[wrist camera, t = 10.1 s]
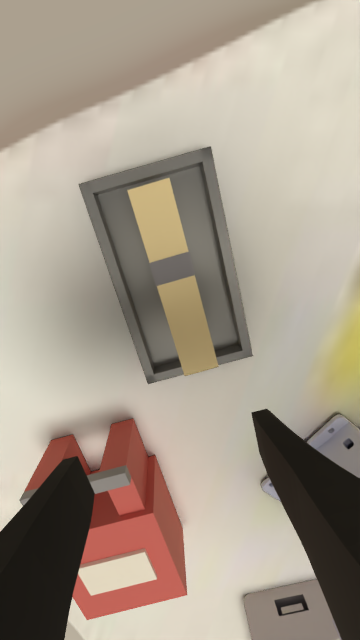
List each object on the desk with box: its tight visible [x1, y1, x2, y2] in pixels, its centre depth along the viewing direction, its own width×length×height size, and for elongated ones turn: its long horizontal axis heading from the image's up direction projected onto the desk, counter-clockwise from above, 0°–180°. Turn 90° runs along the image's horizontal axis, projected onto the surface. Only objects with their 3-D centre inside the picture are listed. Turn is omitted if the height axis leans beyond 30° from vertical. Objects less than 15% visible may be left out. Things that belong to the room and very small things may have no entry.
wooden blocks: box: [127, 178, 219, 376], centre depth 16 cm, size 10×2×4 cm, turn 16°
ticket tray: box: [79, 146, 253, 384], centre depth 18 cm, size 13×8×2 cm, turn 15°
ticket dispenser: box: [20, 419, 187, 620], centre depth 22 cm, size 13×8×5 cm, turn 15°
